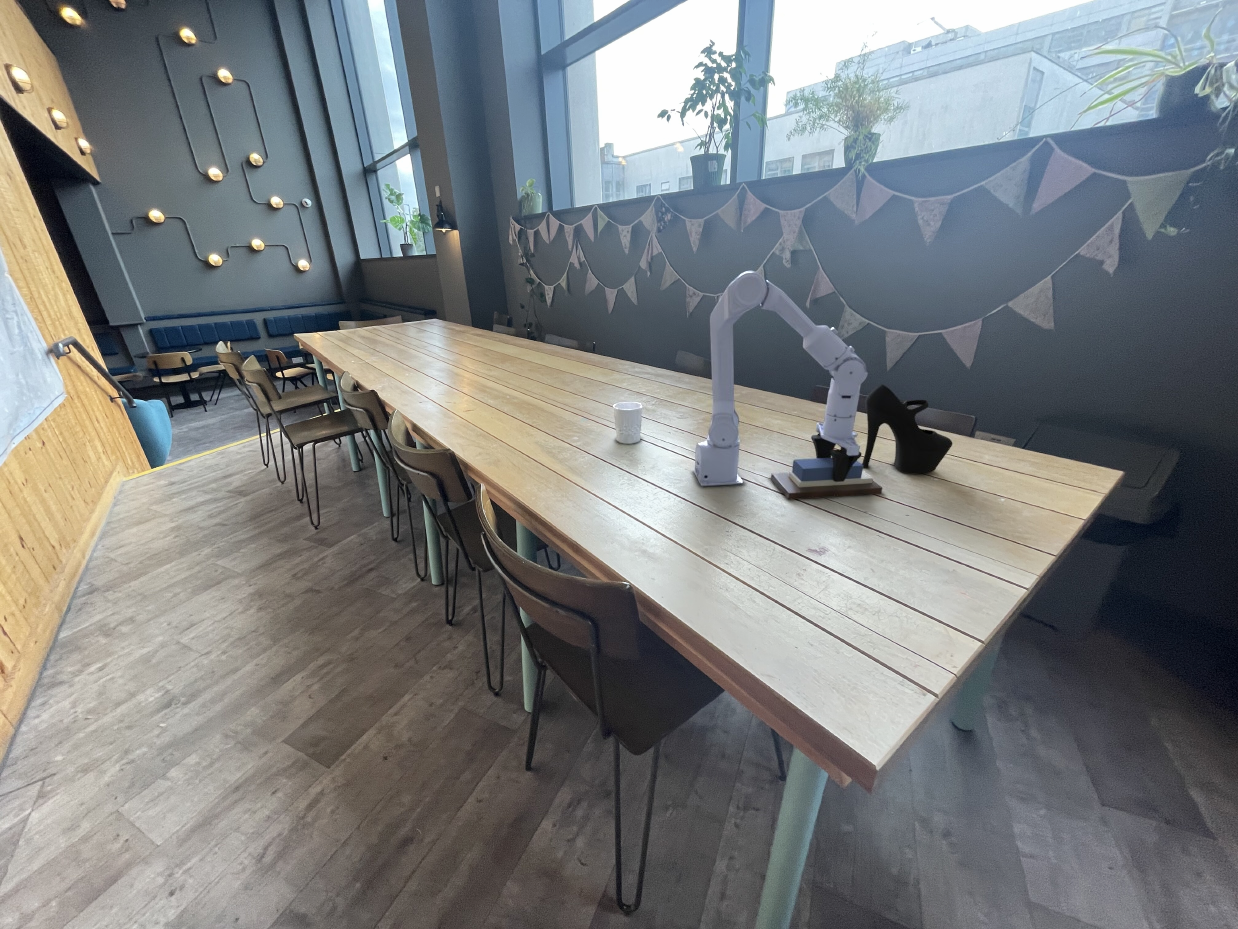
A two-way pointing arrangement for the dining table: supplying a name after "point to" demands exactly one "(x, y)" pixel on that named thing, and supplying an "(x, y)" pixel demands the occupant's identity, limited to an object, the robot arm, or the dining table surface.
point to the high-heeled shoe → (904, 432)
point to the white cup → (628, 421)
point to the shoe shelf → (821, 488)
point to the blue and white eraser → (824, 473)
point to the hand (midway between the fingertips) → (830, 473)
